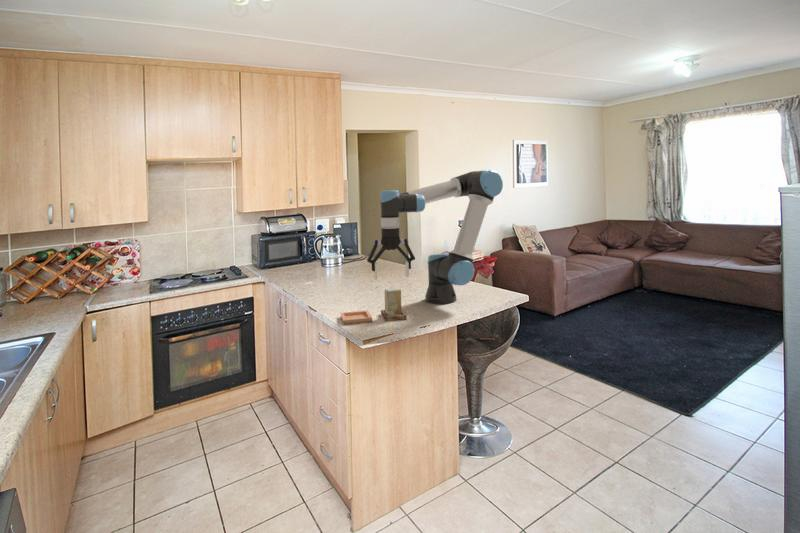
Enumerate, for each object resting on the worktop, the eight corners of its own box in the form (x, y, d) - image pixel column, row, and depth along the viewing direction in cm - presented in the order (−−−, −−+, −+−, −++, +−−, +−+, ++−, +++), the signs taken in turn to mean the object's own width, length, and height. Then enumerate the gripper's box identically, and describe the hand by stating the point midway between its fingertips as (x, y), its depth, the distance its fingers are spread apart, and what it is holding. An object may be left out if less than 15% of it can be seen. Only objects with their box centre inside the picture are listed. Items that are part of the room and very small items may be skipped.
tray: (368, 314, 192) (368, 310, 191) (372, 322, 180) (372, 317, 180) (341, 317, 189) (340, 312, 189) (343, 325, 178) (343, 320, 177)
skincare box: (388, 319, 184) (387, 291, 182) (384, 316, 188) (383, 289, 186) (402, 317, 186) (401, 289, 184) (398, 314, 190) (397, 287, 188)
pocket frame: (400, 312, 193) (400, 308, 193) (406, 319, 183) (406, 315, 182) (381, 314, 191) (380, 310, 191) (385, 321, 181) (385, 317, 180)
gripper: (417, 225, 187) (417, 274, 190) (359, 228, 182) (361, 277, 185) (421, 227, 179) (422, 277, 183) (361, 229, 174) (363, 281, 178)
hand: (391, 277), depth 184 cm, fingers open, 13 cm apart
